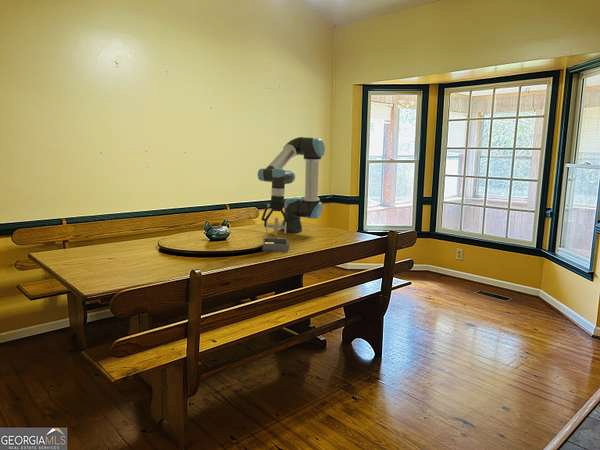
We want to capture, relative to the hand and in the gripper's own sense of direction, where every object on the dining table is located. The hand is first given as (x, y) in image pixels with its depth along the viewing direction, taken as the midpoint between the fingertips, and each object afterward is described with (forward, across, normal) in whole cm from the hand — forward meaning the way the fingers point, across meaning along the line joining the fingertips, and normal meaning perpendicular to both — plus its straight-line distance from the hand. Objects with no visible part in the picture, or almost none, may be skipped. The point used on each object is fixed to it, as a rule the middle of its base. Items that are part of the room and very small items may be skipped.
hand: (275, 232), depth 261 cm
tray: (+9, 0, 0) cm, 9 cm away
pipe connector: (+1, 0, 0) cm, 1 cm away
